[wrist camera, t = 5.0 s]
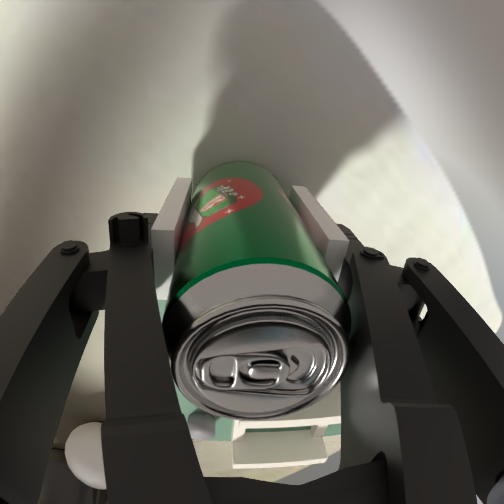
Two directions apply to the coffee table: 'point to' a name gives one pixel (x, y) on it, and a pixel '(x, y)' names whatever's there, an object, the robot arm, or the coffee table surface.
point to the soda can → (252, 302)
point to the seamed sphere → (86, 454)
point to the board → (268, 431)
